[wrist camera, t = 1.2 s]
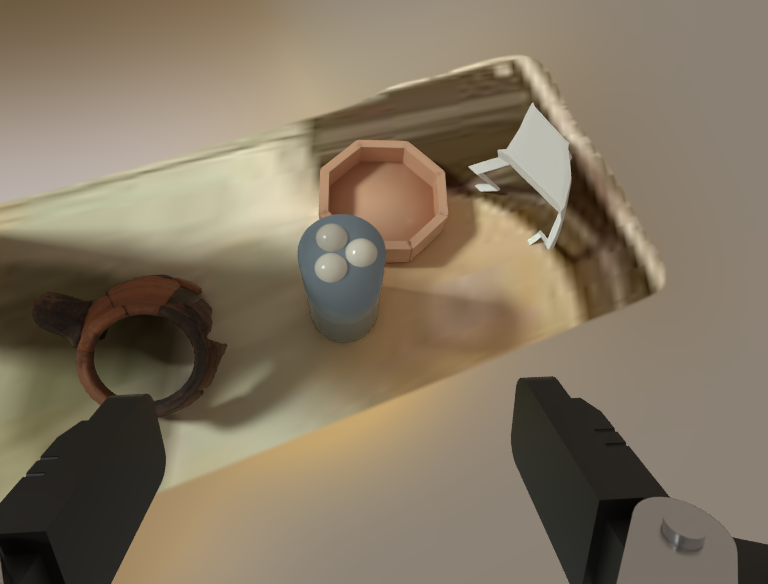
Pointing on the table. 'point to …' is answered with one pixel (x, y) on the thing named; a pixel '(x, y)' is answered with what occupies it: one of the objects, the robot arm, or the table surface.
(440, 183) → the terracotta bowl
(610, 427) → the robot arm
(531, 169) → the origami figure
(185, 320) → the pottery mug
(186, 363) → the table surface
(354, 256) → the pebble cup
